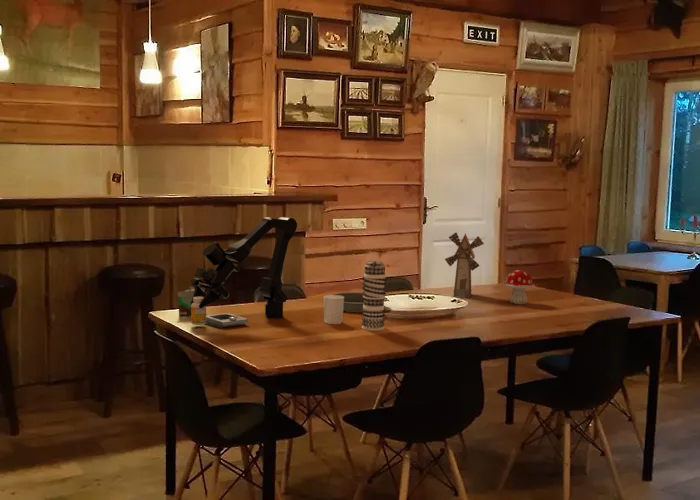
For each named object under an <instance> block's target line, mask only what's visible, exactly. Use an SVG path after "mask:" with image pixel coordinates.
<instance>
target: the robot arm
mask: <svg viewBox="0 0 700 500" xmlns="http://www.w3.org/2000/svg"><path fill="white" fill-rule="evenodd" d="M272 229H274V232H275V237H276V240H275V245H274V248H273V253H272V258H271V261H270V264H269V265H270V266H269V269H268V273H267V275H266V276H265V277H263V276H262V277H261V278H260V284H259V286H258V288H259V293H260V294H261V295H262V298H263V301H264V300H265V301H266V302H265V303H264V316H265V317H266V318H269V319H271V318H273V319H275V318H279V319H280V318H284V303H286V302H287V299H288V296H287V295H286V293H284V291H283V290H282V289H283V282H282V277H281V276H282V272H283V268H284V264H285V261H286V256H287V255H286V254H287V251H288V247H289V242H290V240H291V239H292V238H293V237H294V235H295V234H296V231H297V229H298V223H297V221H296V219H295V218H292V217H285V216H280V217H278V218H274V217H270V216H269V217H268V216H265V217H263V218H262V219H261V221H260V222H259V223H258V224H257V225H256V226H255V227H253V229H252V230H251V231H249V233H248V234H246V235H245V236H244V237H243V238H242V239H241V240H238V241H236V242H234V243H232V244H231V245H229V246H228V247H227V248H225V249H223V248H222V247H221V245H220V243H218V242H216V241H215V242H213V243H212V244H210V245H208V246H207V247H205V248H204V249H203V251H202V255H203V256H204V258H205V259H206V260H207V261H208V262H209V263H210V264H211V265H212V266H216V267H215V268H214V269H212V268H210V267H208V268H202V267H196V270H195V272H194V277H193V278H192V279H191V280H190V281H189V283H190V284H191V286H192V287H194V289H195V292H194V295H193V297H199V296H200V297H204V298H203V300H202V302H201V303H200V305H199V307H200V308H203V307H204V306H206V307H207V306H209V305H210V304H212V303H215V302H217V301H219V300H221V299H223V300H227V299H228V298H229V296H230V291H229V290H228V289H227V288H226V287H225V286H224V285H223V284H227V283H228V280H227V279H228V278H229V277H230V275H231V274H232V273H233V272H237V273H239V272H240V268H239V266H240V265H239V264H237V263H243V262H245V260H246V259H247V258H248V257H249V255H250V254H251V251H252V248H254V246H256V244H258V243H259V242H260V241H261V240H262V238H264V237H265V235H266V234H268V233H269V232H270V231H271V230H272ZM235 262H237V263H236V264H235ZM195 277H196V278H195ZM197 277H199V278H197ZM192 303H194V302H193V298H192V300H191V303H190V304H191V305H192Z"/></svg>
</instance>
